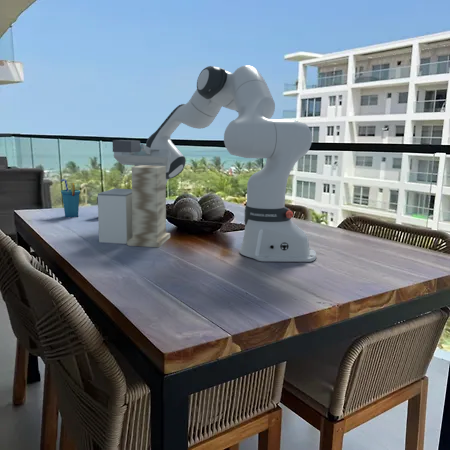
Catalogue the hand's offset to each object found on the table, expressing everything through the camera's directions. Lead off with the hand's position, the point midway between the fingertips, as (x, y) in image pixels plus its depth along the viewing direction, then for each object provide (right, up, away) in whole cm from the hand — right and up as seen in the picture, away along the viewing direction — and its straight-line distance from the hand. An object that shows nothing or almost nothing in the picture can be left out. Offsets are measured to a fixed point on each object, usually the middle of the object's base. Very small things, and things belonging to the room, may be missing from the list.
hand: (136, 145), depth 155 cm
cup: (-33, -24, +30) cm, 51 cm away
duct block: (-4, -32, -6) cm, 32 cm away
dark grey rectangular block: (-1, -3, -5) cm, 6 cm away
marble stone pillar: (+6, -32, -9) cm, 34 cm away
